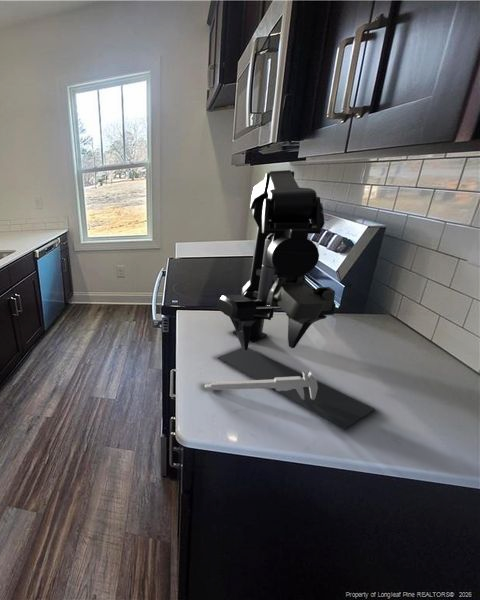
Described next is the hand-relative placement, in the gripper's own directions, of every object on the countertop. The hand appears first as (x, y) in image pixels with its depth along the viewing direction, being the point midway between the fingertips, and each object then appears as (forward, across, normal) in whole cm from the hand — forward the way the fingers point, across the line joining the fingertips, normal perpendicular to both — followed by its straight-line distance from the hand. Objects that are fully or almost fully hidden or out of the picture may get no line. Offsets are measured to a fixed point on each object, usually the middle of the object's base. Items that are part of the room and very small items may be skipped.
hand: (268, 348), depth 59 cm
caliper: (+12, +2, +4) cm, 13 cm away
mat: (+12, +11, +7) cm, 17 cm away
